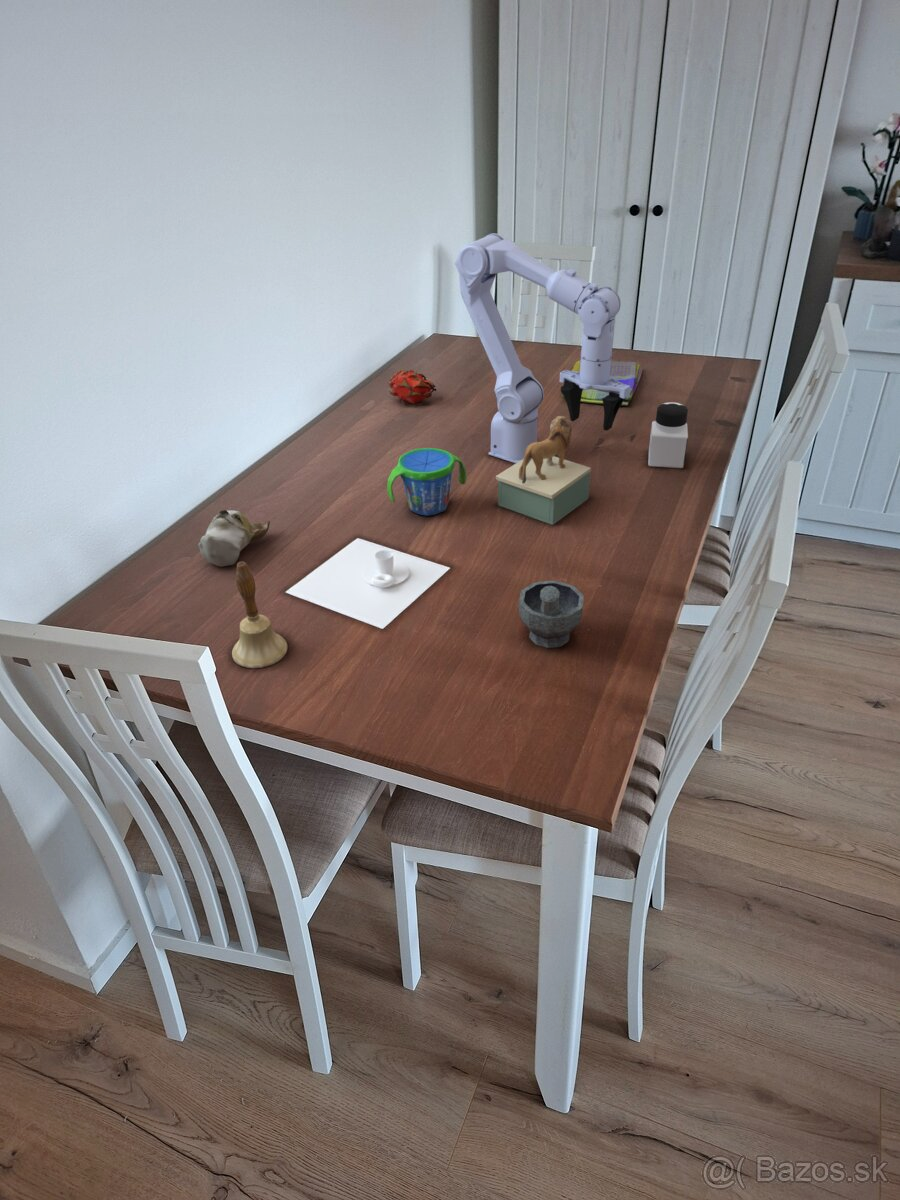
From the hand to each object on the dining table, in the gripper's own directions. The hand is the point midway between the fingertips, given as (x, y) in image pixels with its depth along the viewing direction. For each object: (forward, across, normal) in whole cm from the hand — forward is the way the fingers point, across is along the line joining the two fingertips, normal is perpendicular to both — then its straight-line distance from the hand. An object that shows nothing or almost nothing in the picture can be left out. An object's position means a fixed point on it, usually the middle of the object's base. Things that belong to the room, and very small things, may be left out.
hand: (590, 423), depth 168 cm
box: (+10, 0, -16) cm, 19 cm away
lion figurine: (+4, 0, -16) cm, 16 cm away
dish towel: (+11, -22, +42) cm, 48 cm away
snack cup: (+11, -16, -31) cm, 37 cm away
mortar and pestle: (+11, +25, -51) cm, 58 cm away
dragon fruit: (+11, -54, +6) cm, 55 cm away
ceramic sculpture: (+11, -34, -64) cm, 74 cm away
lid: (+5, 0, -16) cm, 17 cm away
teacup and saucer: (+11, -8, -56) cm, 58 cm away
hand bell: (+11, -8, -80) cm, 81 cm away
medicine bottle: (+11, +10, +14) cm, 20 cm away
